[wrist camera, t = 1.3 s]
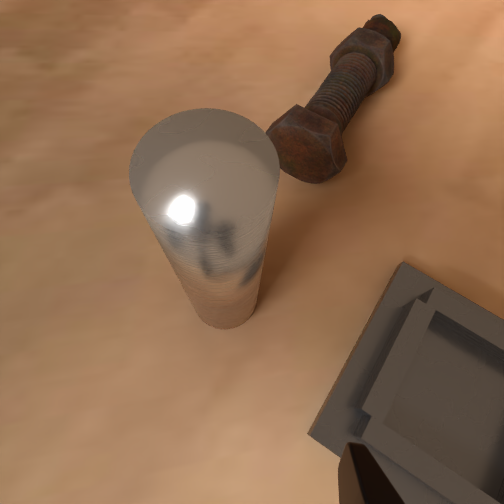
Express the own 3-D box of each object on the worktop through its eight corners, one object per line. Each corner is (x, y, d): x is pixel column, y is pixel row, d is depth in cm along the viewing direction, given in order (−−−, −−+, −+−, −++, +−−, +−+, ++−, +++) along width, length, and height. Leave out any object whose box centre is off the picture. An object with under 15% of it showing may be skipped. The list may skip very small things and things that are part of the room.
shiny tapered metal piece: (213, 341, 22) (171, 263, 8) (182, 286, 23) (104, 144, 10) (268, 308, 22) (309, 190, 9) (236, 256, 24) (232, 89, 11)
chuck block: (515, 582, 18) (553, 609, 16) (307, 433, 20) (315, 439, 18) (577, 370, 22) (614, 368, 19) (398, 265, 24) (413, 252, 22)
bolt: (374, 74, 33) (298, 192, 27) (339, 30, 31) (251, 145, 26) (432, 34, 28) (353, 169, 22) (394, -22, 26) (298, 108, 21)
